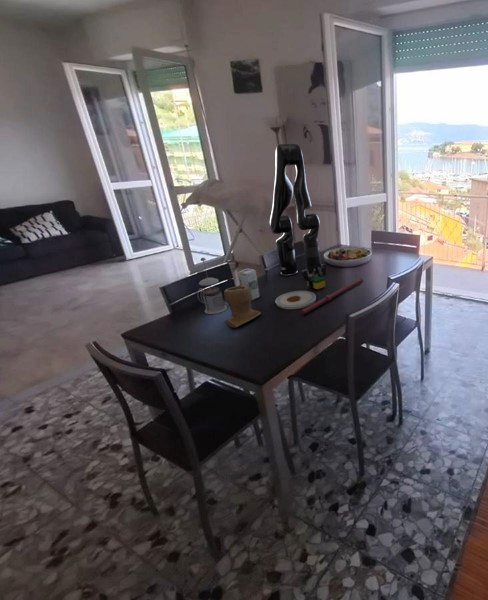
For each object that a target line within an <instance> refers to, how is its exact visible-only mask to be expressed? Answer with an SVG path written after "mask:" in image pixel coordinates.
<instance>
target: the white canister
mask: <svg viewBox="0 0 488 600" xmlns="http://www.w3.org/2000/svg"><path fill="white" fill-rule="evenodd" d="M237 274H238V279H239V286H247V287H248V288H249V290H250V293H251V302H252V301H254V300H257V299H259V298H260V297H261V293H260V287H259V281H258V276H257V271H256V270H255V269H253V268H245V269H242V270H240V271H239V270H238V271H237Z"/></svg>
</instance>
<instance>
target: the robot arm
mask: <svg viewBox="0 0 488 600" xmlns="http://www.w3.org/2000/svg"><path fill="white" fill-rule="evenodd" d="M304 162H305V161H304V156H303V152H302V149H301V147H300V145H299V144H297V143H280V144H277V146H276V148H275V175H274V186H273V195H272V197H273V198H272V207H271V213H270V218H269V229H270V231H271V232H272V234H274V235H280V234H282V235H281V236H280V237H279V238H278V239H276V240H275V244H276V251H277V261H278V266H279V271H280V275H281V276H284V277H291V276H294V275H297V274H298V273H299V272H298V265H297V261H296V260H297V258H296V251H295V245H294V231H293V223H292V220H291V218H290V216H289V215H287V214H285V215H283V213H284V212H285V211H286V210H287V208H288V207H289V206H290V204H291V203H292V200H293V199H294V203H295V206H296V225H297V227H298V228H299V229H300V230H301V231H307V230H309V231H308V232H307V233H305V234H304V235H303V237H302V239H303V251H304V258H305V264H306V268H305V269H302V270H301V274H302V276H303V279H304V281H306V282H307V281H308V282H309V286H308V287H309V288H311V289H314V288H313V281H312V280H313V277H314V275H317V276H320V277H323V278H324V277H325V276H327V264H326V263H322V257H321V249H320V245H319V230H320V226H321V225H320V223H321V222H320V218H319V216H318V215H317V214H316V213H308V214H306V213H305V212H306V211H307V210H309V209H311V208H312V202H311V198H310V194H309V190H308V186H307V178H306V170H305V164H304ZM287 166H294V167H295V173H296V174H295V175H296V176H295V180H294V183H292V182H291V180H290V179H289V177H288V175H287V172H286V171H287V170H286V169H287Z"/></svg>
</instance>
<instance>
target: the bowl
mask: <svg viewBox="0 0 488 600" xmlns="http://www.w3.org/2000/svg"><path fill="white" fill-rule="evenodd" d="M372 253H373V252H372V250H370V249H368V248H366V247H360V246H342V247H336V248H332V249H329V250H327V251H325V252H324V253H323V258H324V261H325V262H326V263H327V264H329V265H330V266H333V267H340V268H351V267H357V266H361V265H364V264H366V263H368V262H369V261H370V260H371V259H372V255H373V254H372Z"/></svg>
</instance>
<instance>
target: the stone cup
mask: <svg viewBox="0 0 488 600" xmlns="http://www.w3.org/2000/svg"><path fill="white" fill-rule="evenodd" d="M223 292H224V293H223V294H224V295H223V296H224V299H225V300H224V301H225V302H226V304H227V305H228V307H229V310H230V311H231V315H230V316H229V317H227V318H226V319H224V323H225V324H226V325H228V326H229V327H230V328H232V329H234V328H235V329H237V328H239V327H241V326H242V325H244V324H246V323H248V322H250V321H252V320H254V319H256V318H257V317H259V316H260V315H261V314H262V312H261V311H259V310H256V309H252V301H251V293H250V290H249V288H248V287H247V286H241V285H236V286H232V287H229V288H226V289H225V290H224V291H223Z"/></svg>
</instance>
